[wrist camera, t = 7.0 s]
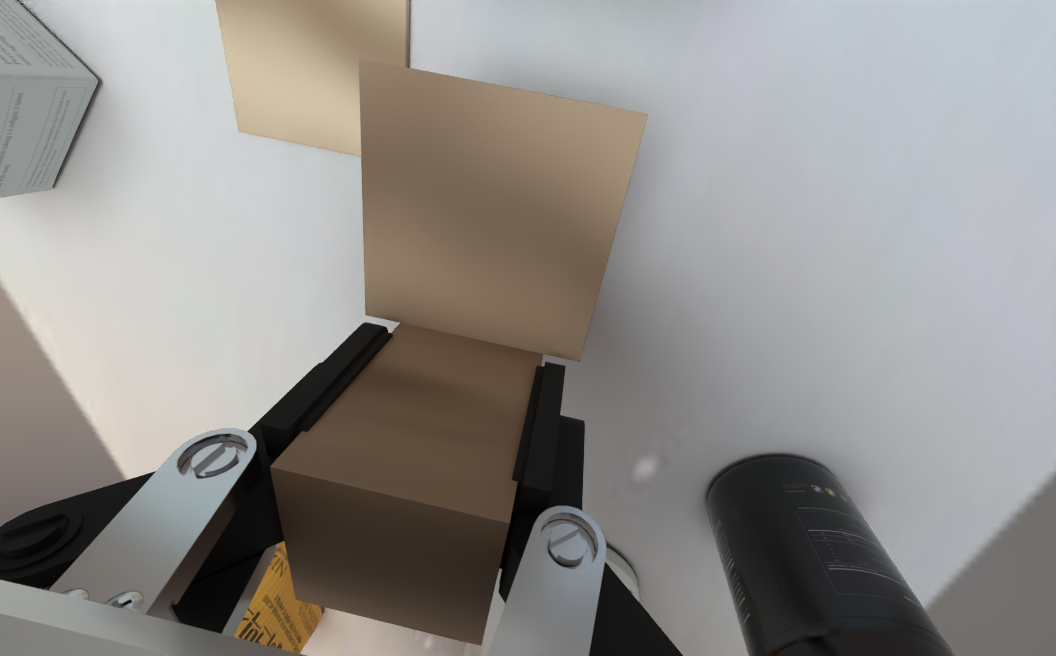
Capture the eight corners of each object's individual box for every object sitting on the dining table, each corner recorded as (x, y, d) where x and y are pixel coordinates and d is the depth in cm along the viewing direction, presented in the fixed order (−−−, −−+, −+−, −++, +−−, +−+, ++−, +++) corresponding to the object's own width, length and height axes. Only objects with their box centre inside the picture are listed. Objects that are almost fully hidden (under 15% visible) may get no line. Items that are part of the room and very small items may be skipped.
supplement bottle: (790, 548, 24) (935, 881, 14) (682, 513, 24) (748, 823, 14) (871, 475, 21) (1145, 846, 10) (746, 434, 21) (898, 768, 10)
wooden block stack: (552, 447, 14) (528, 658, 8) (379, 407, 14) (250, 588, 9) (643, 113, 9) (721, 115, 4) (376, 62, 9) (78, -9, 4)
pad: (407, 164, 17) (404, 165, 16) (244, 131, 17) (238, 131, 17) (411, -157, 12) (407, -163, 12) (187, -195, 12) (179, -201, 12)
